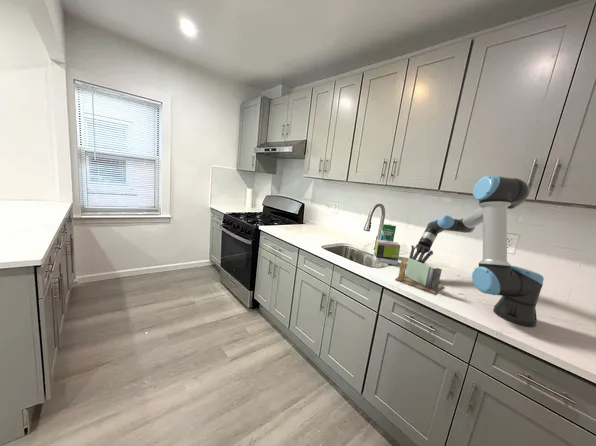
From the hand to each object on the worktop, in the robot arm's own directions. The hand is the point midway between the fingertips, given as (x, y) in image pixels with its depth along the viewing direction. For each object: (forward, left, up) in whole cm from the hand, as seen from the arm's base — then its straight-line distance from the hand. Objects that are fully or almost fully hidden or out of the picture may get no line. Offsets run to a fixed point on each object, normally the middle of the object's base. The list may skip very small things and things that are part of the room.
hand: (411, 270), depth 148 cm
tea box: (+28, +8, -5) cm, 30 cm away
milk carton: (+46, +5, -5) cm, 46 cm away
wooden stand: (-6, -3, -5) cm, 9 cm away
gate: (-8, -2, -4) cm, 9 cm away
